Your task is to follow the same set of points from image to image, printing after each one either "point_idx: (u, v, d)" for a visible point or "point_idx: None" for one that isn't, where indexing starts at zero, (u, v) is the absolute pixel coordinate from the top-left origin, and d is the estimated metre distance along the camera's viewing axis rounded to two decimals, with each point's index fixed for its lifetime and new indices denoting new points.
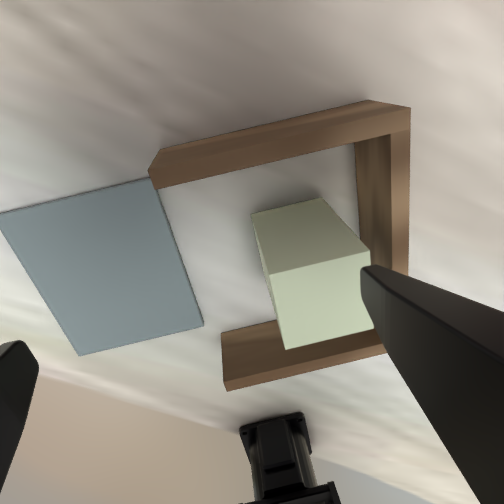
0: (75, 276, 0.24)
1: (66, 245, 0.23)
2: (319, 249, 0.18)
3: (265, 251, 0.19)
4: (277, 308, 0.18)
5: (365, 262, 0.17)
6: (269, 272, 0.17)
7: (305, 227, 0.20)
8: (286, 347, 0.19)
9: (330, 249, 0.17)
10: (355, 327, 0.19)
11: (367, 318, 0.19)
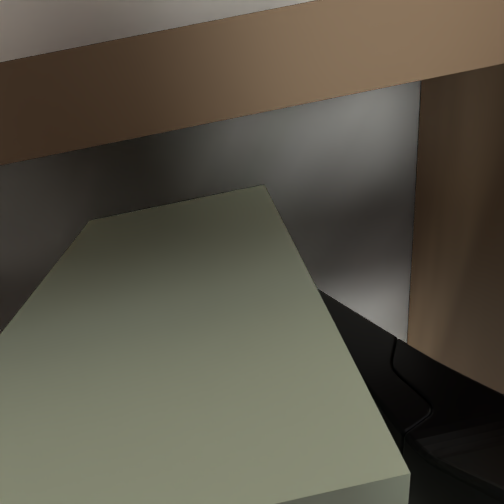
0: None
1: None
2: None
3: None
4: None
5: None
6: None
7: None
8: None
9: None
10: None
11: None
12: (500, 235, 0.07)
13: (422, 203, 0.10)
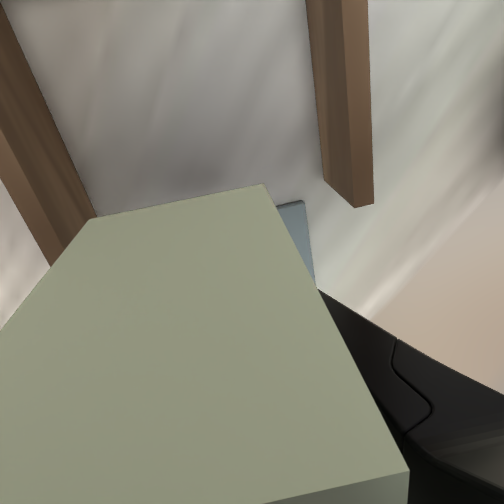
0: None
1: None
2: None
3: None
4: None
5: None
6: None
7: None
8: None
9: None
10: None
11: None
12: (328, 9, 0.14)
13: (310, 27, 0.17)
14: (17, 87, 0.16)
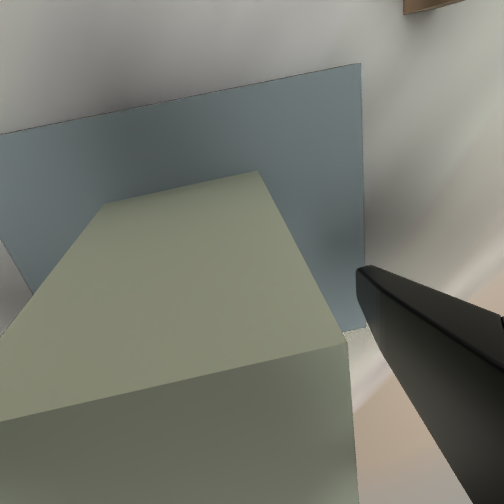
0: None
1: None
2: None
3: None
4: None
5: None
6: None
7: None
8: None
9: None
10: (324, 405, 0.04)
11: (281, 378, 0.04)
12: None
13: None
14: None
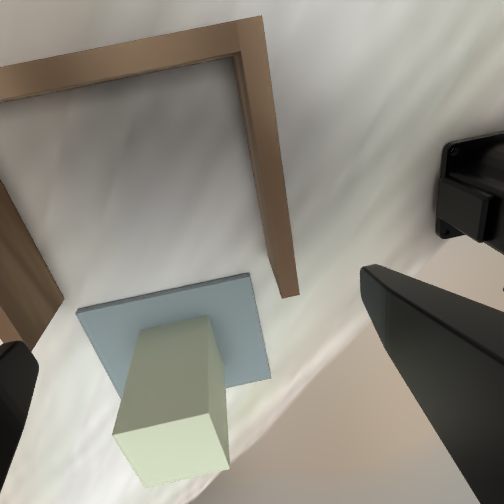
0: None
1: None
2: None
3: None
4: (180, 479, 0.20)
5: (125, 435, 0.18)
6: (145, 484, 0.20)
7: None
8: (227, 468, 0.20)
9: None
10: (206, 427, 0.18)
11: (194, 421, 0.18)
12: (252, 137, 0.16)
13: (247, 134, 0.19)
14: None
